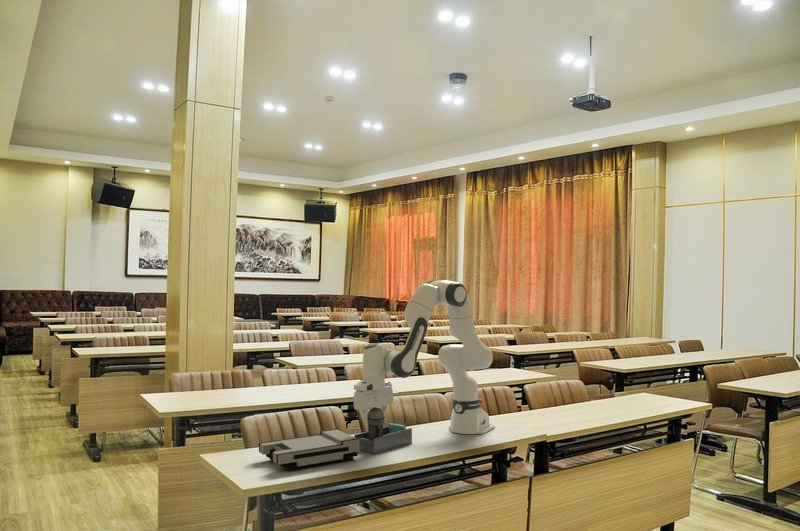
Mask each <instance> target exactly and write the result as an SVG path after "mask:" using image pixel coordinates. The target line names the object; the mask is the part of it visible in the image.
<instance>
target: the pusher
mask: <svg viewBox="0 0 800 531" xmlns="http://www.w3.org/2000/svg"><path fill="white" fill-rule="evenodd" d="M388 426H389V434H390V433H394V432H397V431H401V430H405V429H407V425H404V424H399V423H398V424H397V423H393V422H392V423H391V422H390V423H388Z"/></svg>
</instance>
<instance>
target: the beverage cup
mask: <svg viewBox="0 0 800 531" xmlns="http://www.w3.org/2000/svg"><path fill="white" fill-rule="evenodd" d="M375 399H376V397H375ZM381 409H382V408H379V407H375V408H370V409H368V410H369V411H367V415H368V416H369V420H367V421H366V422H367V426H368V427H367V431H369V440H372V438H376V437H379V436H382V432H383V427H384V422H385V416H384V413H383V411H382V410H381Z"/></svg>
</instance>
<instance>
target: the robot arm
mask: <svg viewBox="0 0 800 531" xmlns="http://www.w3.org/2000/svg"><path fill="white" fill-rule="evenodd" d="M467 292H468V291H467V289H466V287H465V285H464V284H463V283H461V282H458V281H452V280H447V279H444V280H443V279H442V280H437V279H433V280H429V281H427V282H426V283H422V284H420V285H419V286H418V287H417V289H416V290H414V292H413V294H412V296H411V297H410V299H409V301H408V303H407V305H406V307H405V309H404V312H403V317H404V320H405V322H406V324H407V325H408V326H409V335H408V336H407V339H406V342H405V344H404V347H403V348H402V349H401V350H400V351H398V350H394V349H391V348H389V347H387V346H385V345H383V343H380V342H376V343H370V344H368V345H366V346H365V347H364V349H363V354H362V367H363V376H362V379H361V380H360V381H359V382H357V383H355V384H354V386H353V390H354V393H353V408H354V410H355V411H361V412H360V413H361V414H362V416H363V421H366V422H367V420H369V416H368V415H367V414H368V410H370V409H372V408H375V407H376V408H379V407H381V408H380V409H381V410H382V411H383V413H384V417H385V416H386V411H387V408H388V405H391V404H393V403H394V400H395V399H394V391H393V390H394V389H393V388H392V387H393V386H392V385H393V384H392V383H391V381H388V380H387V381H386V378H385V375H386V374H390V375H394V376H396V377H398V378H402V379H405V378H408V377H411V376H412V375H413V374H414V372H415V371H416V367H417V362H418V361H417V360H418V356H419V352H420V350H421V348H422V345H423V342H424V339H425V337H426V334H427V331H428V327H429V326H428V324H429V321H430V318H431V316H432V314H433V312H434V309H435V308H436V305H438V306H447V312H448V323H449V331H450V334H451V336H453V338H456V339H457V340H459V341H460V343H461V344H457V343H454V344H452V343H451V344H446V345H442V346H441V347H440V349H439V351H438V353H437V354H438V355H437V359H438V361H439V363H440V365H441V366H442V367H443V368H444V369H445V370H446V371H447V373H448V374H449V376H450V378H451V381H452V391H453V392H452V393H453V399H452V403H451V404H452V408H453V409H452V410H451V413H450V414H451V416H450V425H448V429H449V430H450V431H451V432H452V433H454V434H458V435H459V434H461V435H476V434H478V435H479V434H480V435H482V434H483V435H484V434H486V433H488V432H489V431H492V430H493V429H495V428H496V426H495V425H494V424H492V423H490V415H489V414H488V413H487V412H486V411H485V410H484V409H483V408H482V407H481V404H482V405H483V404H484V399H481V398H479V389H478V388H479V385H478V382H477V381H476V379H475V378H474V377H472V376H470V375H469V374H468V372H467V370H484V369H488V368H489V367H490V366H491V365H492V363H493V360H494V357H493V351H492V350H491V349H490V348H489V346H487V345H485V343H483V342H482V341H481V339H480V338H479V336H478V334H477V332H476V331H477V330H476V327H475V320H474V311H473V306H472V301H471V299H470V295H469V294H468V293H467ZM375 397H376V399H375Z"/></svg>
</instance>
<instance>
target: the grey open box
mask: <svg viewBox="0 0 800 531" xmlns="http://www.w3.org/2000/svg"><path fill="white" fill-rule="evenodd" d="M353 435H354V436H353V437H356V438H358V439H359V452H363V453H367V454H371V455H377V454H379V453H384V452H387V451H390V450H393V449H397V448H399V447H402V446H406V445H411V444H412V443H413V428H411V427H409V428H406V429H405V430H401V431H397V432H394V433H390V434H389V425H386V426H383V432H382V436H379V437H376V438H372V440H369V431H368V430H367V431H363V432H359V433H356V434H353Z"/></svg>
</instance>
